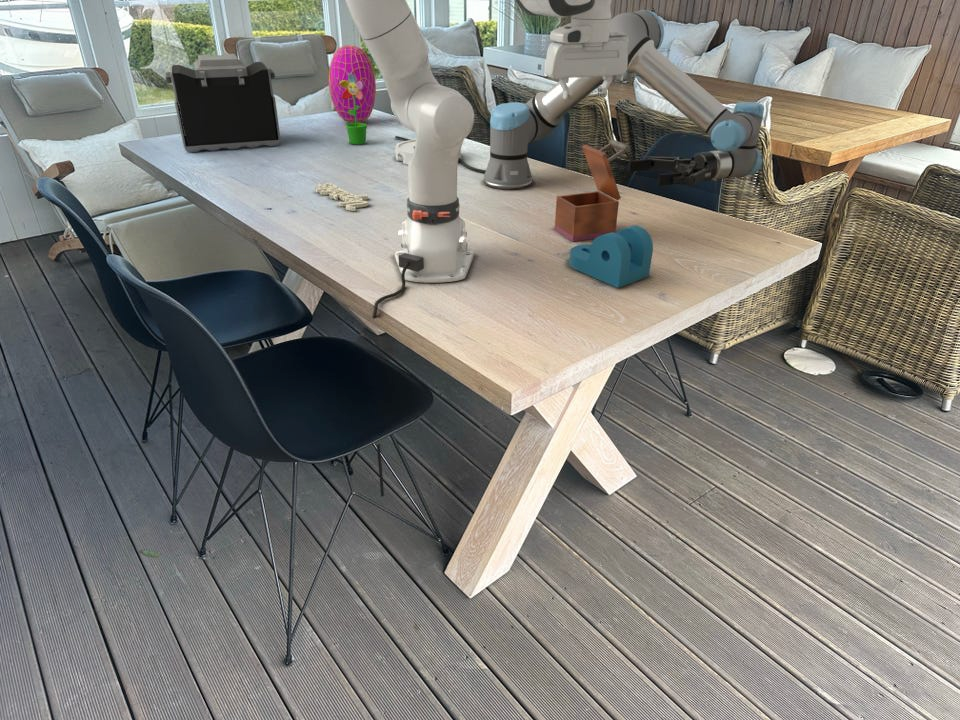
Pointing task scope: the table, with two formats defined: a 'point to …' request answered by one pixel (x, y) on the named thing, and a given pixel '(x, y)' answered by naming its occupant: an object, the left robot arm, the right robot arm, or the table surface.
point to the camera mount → (615, 256)
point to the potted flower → (354, 129)
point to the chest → (585, 215)
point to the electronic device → (225, 104)
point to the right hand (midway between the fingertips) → (643, 173)
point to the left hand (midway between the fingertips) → (584, 97)
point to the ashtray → (407, 151)
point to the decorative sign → (343, 196)
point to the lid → (604, 167)
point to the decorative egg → (361, 68)
